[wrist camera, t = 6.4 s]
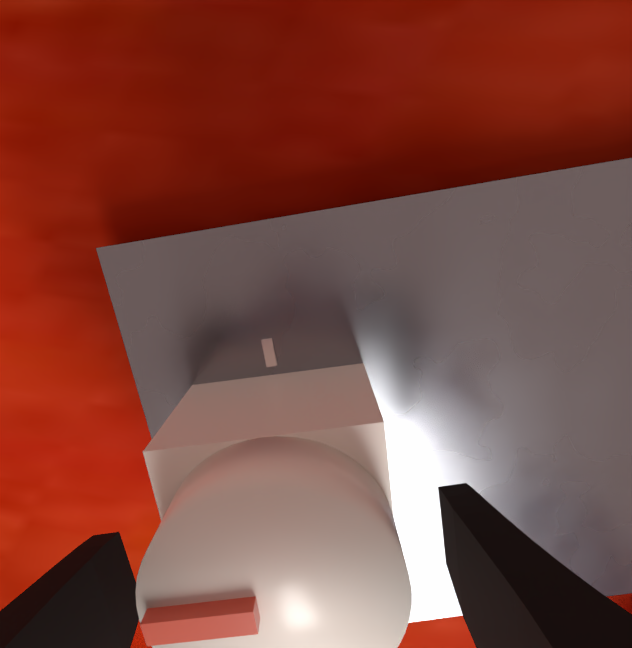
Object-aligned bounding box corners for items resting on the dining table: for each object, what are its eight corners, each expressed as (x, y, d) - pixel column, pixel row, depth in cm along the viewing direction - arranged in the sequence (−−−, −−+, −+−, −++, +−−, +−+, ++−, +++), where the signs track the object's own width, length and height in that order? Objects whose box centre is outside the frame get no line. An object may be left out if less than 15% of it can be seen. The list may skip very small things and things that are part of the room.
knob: (363, 363, 12) (404, 479, 6) (380, 511, 13) (425, 710, 8) (192, 385, 12) (94, 517, 7) (224, 529, 13) (163, 738, 8)
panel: (704, 550, 15) (864, 684, 10) (220, 615, 15) (185, 767, 11) (742, 140, 11) (1000, 91, 7) (117, 245, 12) (8, 259, 8)
